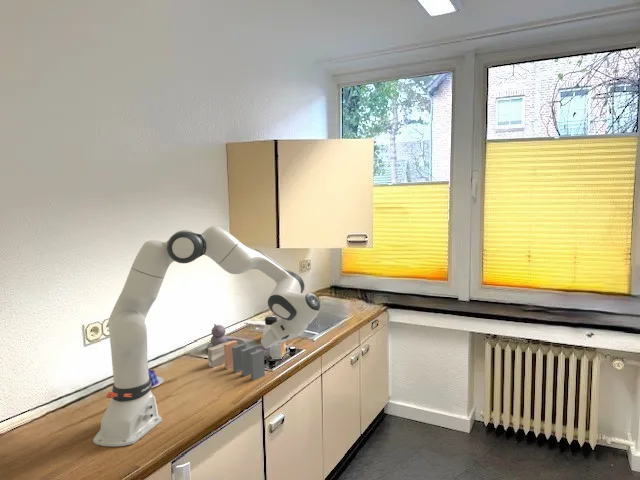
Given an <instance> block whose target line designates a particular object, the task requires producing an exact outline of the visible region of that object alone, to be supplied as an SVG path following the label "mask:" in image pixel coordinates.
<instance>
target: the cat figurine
mask: <svg viewBox="0 0 640 480" xmlns="http://www.w3.org/2000/svg"><path fill="white" fill-rule="evenodd" d="M225 334H226V328H225V327H224V326H223V325H220V324H216V323H214V326H212V329H211V335H212V336H211V337H210V343H211V345H212V347H213V346H217V345H220V344H222V343H225V342H228V338H227V336H226V335H225Z"/></svg>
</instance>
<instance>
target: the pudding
mask: <svg viewBox="0 0 640 480" xmlns="http://www.w3.org/2000/svg"><path fill="white" fill-rule="evenodd" d="M148 371H149V377H150V379H151V389H153V388H155V387H157V386H160V385H161V384H162V383H164V377H161V376H158V375H157V374H156V371H155V370H154V369H149V368H148Z"/></svg>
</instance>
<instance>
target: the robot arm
mask: <svg viewBox="0 0 640 480" xmlns="http://www.w3.org/2000/svg"><path fill="white" fill-rule="evenodd" d="M202 256H207V257H208V258H210V259H211V260H212V261H213V262H215V263H216V264H217V265H218V266H219V267H220V268H221V269H222V270H224V271H225V272H227V273H229V274H231V275H241V274H243V273H246V272H248V271H250V270H259V271H260V272H262V273H263V274H265V275H266V276H267V277H270V279H272V280H273V281H275V283H276V286H275V287H274V289H273V290H272V292H271V293H270V295H269V298H268V299H267V306H268V308H269V310H270V311H271V312H272V313H273V314H274V315H275V316H277V317H279V318H280V319H279V320H278V319H277V322H275V323H273V324H272V325H271V326H270V328H271V329H269V330H268V331H267V332H266V333H265V335H264V336H262V337H261V340H260V343H261V345H262V347H263V348H264V349H270V347H272V346H274V347H276V346H279V345H281V343H283V342H284V341H290V340H291V339H294V338H298V337H299V336H302V334H304V332H306V330H307V329H308V328H309V326H308V325H310V324H311V323H312V322H313V321H314V319H315V318H316V317H317V316H318V314H319V312H320V310H321V303H320V300H319V298H318V296H317V295H315V294H314V293H312V292H305V293H303V292H304V290H305V283H304V280H303V278H302V277H301V276H300V275H298V273H296V272H293V271H292V270H289V269H287V268H285V267H284V266H282V265H281V264H280V263H278V262H277V261H275V260H274V259H272V258H271V257H270V256H269V255H267V254H265V253H264V252H262V251H260V250H259V249H255V248H251V247H248V246H247V245H245V244H244V243H242V242H241V241H240V240H239V239H238V238H236V237H235V236H233V235H232V234H231V233H230V232H229V231H227V230H225V229H224V228H221V227H220V226H217V225H214V226H212V225H211V226H209V227H208V228H206V229H205V230H204V231H203V232H202V233H196V232H194V231H191V230H188V229H184V230H183V229H181V230H179V231H177V232H175V233H173V234H172V235H171V236H170V237H169V239H168V240H167V241H161V240H160V241H159V240H155V239H154V240H153V239H152V240H148V241H145V242H144V243H143V244H142V246H141V248H140V249H139V251H138V253H137V255H136V256H135V258H134V260H133V263H132V266H131V267H130V271H129V273H128V275H127V277H126V280H125V282H124V285H123V288H122V290H121V291H120V292H121V293H120V294H119V296H118V297H117V300H116V302H115V304H114V307H113V308H112V311H111V313H110V316H109V318H108V322H107V324H108V333H109V342H110V352H111V353H110V354H111V364H112V366H111V367H112V376H113V377H112V378H113V385H112V389H111V391H108V392H107V393H106V398H107V399H111V401H110V402H109V404H108V406H107V408H106V411H105V412H104V414H103V417H102V418H101V422H100V429H99V431H98V432H97V433H96V435H94V438H93V439H92V441H93V442H92V443H93V444H95V445H97V446H102V447H124V446H130V445H133V444H135V443H136V442H138V441H139V440H140V439H141V438H142V437H144V436H145V435H146V434H147V433H149V432H150V431H151V430H152V429H154V428H155V427H156V426H157V425H159V424H160V423H161V422H162V421H163V419H162V416H161V415H159V411H158V405H157V401H156V397H155V395H154V394H153V392H152V390H151V389H152V388H151V387H152V386H151V379H150V377H149V371H148V370H149V362H148V361H149V360H148V333H147V330H148V329H147V325H146V322H145V321H146V317H147V315H148V313H149V311H150V309H151V307H152V306H153V304H154V303H155V301H156V300H157V297H158V294H159V292H160V289H161V287H162V284H163V282H164V279H165V277H166V274H167V270H169V267H170V265H172V263H174V262H176V263H179V264H189V263H191V262H194V261H196V260H197V259H198V258H200V257H202Z"/></svg>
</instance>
